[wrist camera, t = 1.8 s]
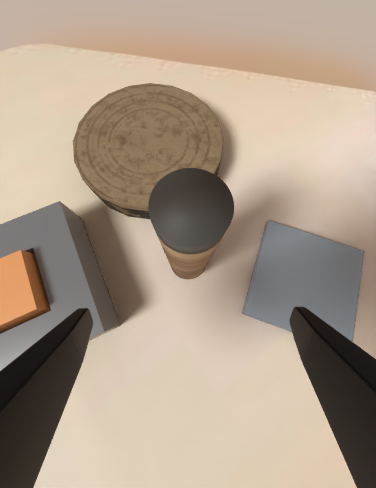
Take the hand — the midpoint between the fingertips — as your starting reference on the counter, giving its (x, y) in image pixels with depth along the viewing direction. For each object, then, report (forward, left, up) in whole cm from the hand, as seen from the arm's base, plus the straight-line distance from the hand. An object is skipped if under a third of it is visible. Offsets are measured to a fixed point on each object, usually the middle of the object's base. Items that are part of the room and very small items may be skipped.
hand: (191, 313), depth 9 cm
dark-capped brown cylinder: (+4, -2, -11) cm, 12 cm away
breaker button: (+7, +12, -9) cm, 17 cm away
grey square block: (+7, +13, -11) cm, 18 cm away
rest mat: (-3, -11, -11) cm, 16 cm away
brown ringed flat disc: (+17, -3, -12) cm, 21 cm away
